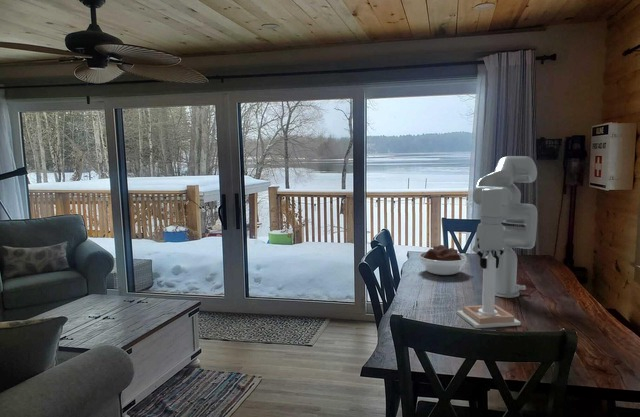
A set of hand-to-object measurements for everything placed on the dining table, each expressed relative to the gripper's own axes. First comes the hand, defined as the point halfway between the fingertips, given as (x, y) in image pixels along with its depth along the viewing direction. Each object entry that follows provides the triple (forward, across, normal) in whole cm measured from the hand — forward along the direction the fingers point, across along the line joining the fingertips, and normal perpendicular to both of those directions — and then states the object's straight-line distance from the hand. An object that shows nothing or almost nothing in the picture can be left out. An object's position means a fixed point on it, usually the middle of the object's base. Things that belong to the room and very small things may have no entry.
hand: (489, 267), depth 174 cm
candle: (+19, 0, 0) cm, 19 cm away
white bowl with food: (+21, -11, -68) cm, 72 cm away
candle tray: (+21, 0, 0) cm, 21 cm away
